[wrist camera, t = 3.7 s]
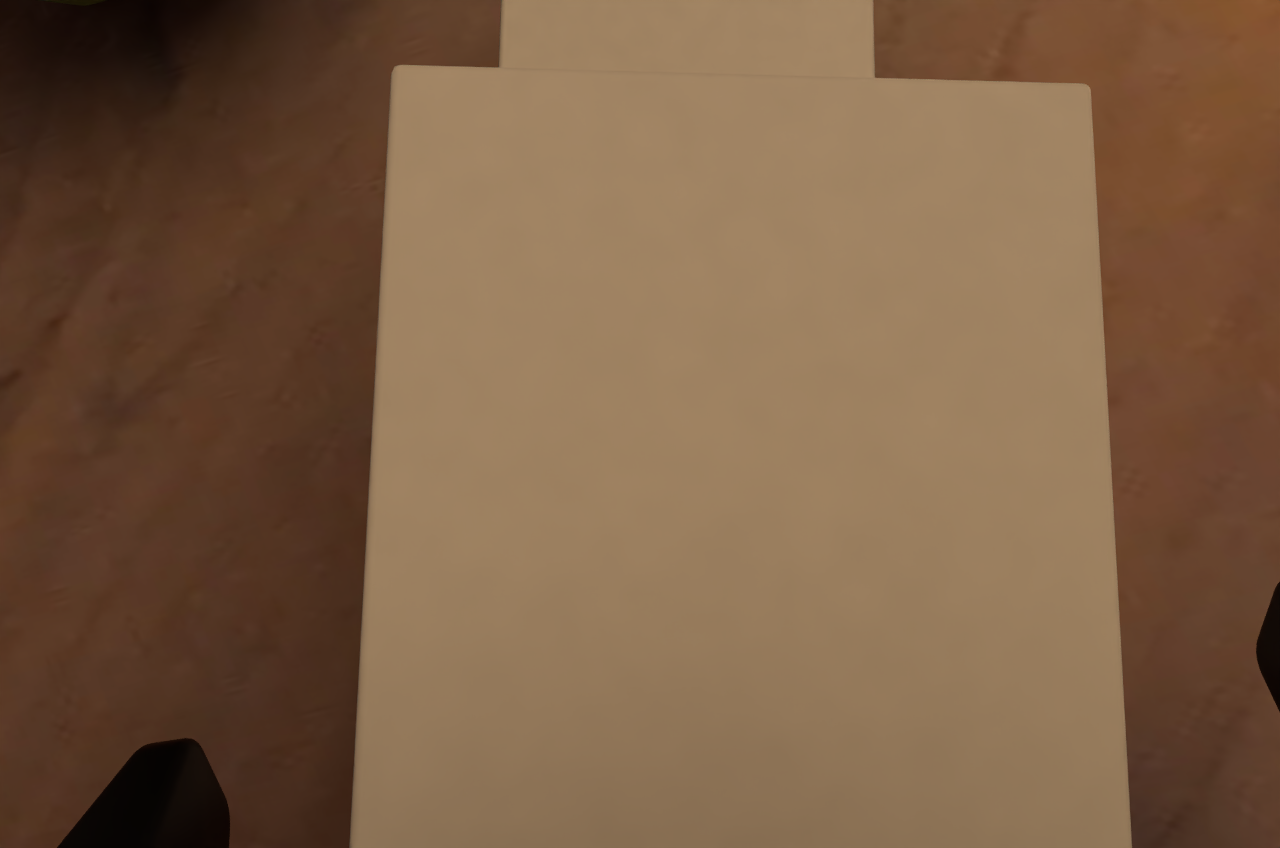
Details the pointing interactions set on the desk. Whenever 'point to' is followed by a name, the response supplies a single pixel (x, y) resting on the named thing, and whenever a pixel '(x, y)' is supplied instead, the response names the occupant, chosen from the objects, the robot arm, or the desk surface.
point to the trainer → (737, 448)
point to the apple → (76, 2)
